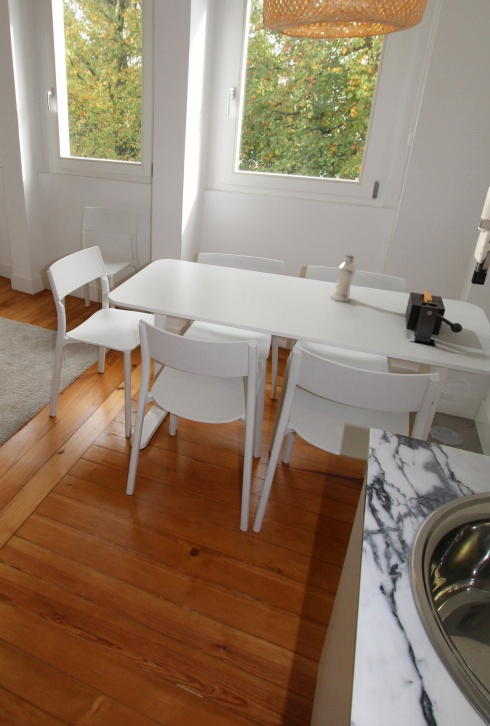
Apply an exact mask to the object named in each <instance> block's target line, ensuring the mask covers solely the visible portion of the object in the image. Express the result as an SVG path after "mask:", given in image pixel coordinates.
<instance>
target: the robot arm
mask: <svg viewBox="0 0 490 726" xmlns="http://www.w3.org/2000/svg"><path fill="white" fill-rule="evenodd" d="M477 229H478V230H479V231H480V233H479V236H478V240H477V243H476V246H475V250H474V255H473V256H474V259H475V261H476V264H475V266H474V270H473V273H472V276H471V280H470V282H471V284H472V285H479V286H484V285H485V283H486V279H487V275H488V272H489V269H490V186H489V187H488V189H487V193H486V197H485V200H484V204H483V209H482V212H481V215H480V218H479V223H478V225H477Z"/></svg>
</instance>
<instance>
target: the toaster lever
mask: <svg viewBox="0 0 490 726" xmlns="http://www.w3.org/2000/svg"><path fill="white" fill-rule="evenodd" d="M426 306H430V305H429V304H427V305H426ZM431 307H432V306H431ZM436 317H437V318H439V319H440V320H442V323H445V324H446V325H448V326H449V327H450V331H451V332H453V333H456V334H459V333H461V332H462V330H463V326H462V324H461V323H459V322H454V323H453V322H452V321H450V320H449V319H447V318H445V316H443V317H442V316H441V315H439V314H438V313H437V316H436Z"/></svg>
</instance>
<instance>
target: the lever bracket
mask: <svg viewBox="0 0 490 726" xmlns="http://www.w3.org/2000/svg"><path fill="white" fill-rule="evenodd" d="M427 304H429V305H430V306H426V305H427ZM431 306H432V307H431ZM437 313H438V308H437V304H436V303H430V302H423V301H422V304H421V308H420V312H419V316H418V320H417V324H416V328H415V331H414V332H413V337H414V340H409V341H408V342H409V343H413V344H419V345H423V346H427V347H433V348H436V347H437V345H436V342H435V341H436V340H435V339H431V338H432V335H433V334H432V332H433V328H434V324H435V320H436V316H437Z"/></svg>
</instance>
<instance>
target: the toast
mask: <svg viewBox="0 0 490 726" xmlns="http://www.w3.org/2000/svg"><path fill="white" fill-rule="evenodd" d="M423 294H424V298H423V302H430V303H432V298H431V291H430V290H424V293H423Z"/></svg>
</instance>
